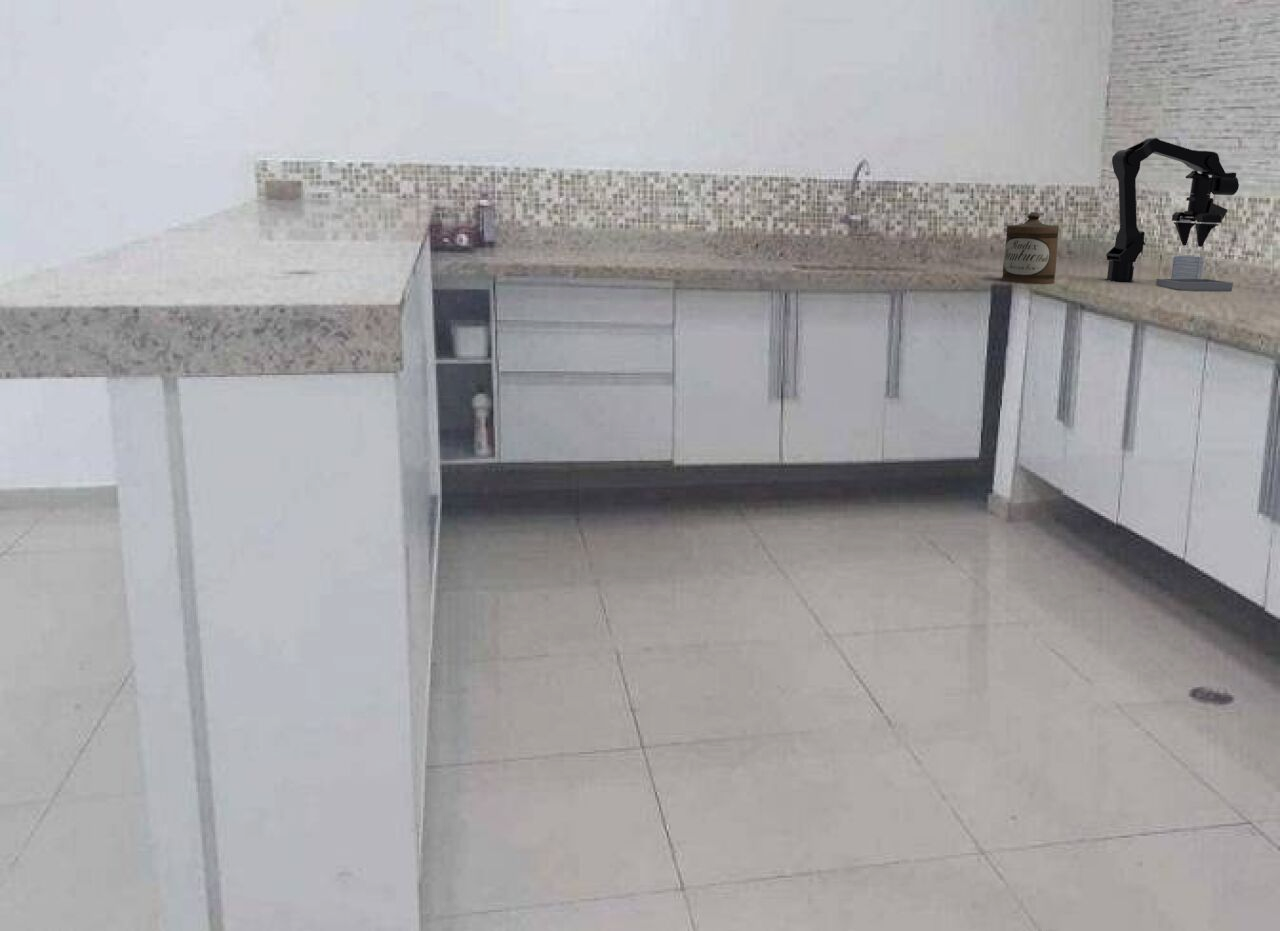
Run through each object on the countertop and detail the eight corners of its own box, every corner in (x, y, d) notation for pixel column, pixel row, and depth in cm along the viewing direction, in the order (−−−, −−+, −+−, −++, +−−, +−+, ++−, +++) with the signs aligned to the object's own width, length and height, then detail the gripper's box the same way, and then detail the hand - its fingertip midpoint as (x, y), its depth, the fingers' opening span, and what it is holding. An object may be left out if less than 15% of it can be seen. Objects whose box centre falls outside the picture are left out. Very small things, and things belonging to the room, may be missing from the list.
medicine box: (1201, 285, 338) (1204, 256, 336) (1196, 285, 335) (1200, 257, 333) (1174, 283, 343) (1177, 255, 341) (1169, 284, 340) (1173, 256, 338)
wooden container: (994, 287, 322) (1001, 211, 316) (1011, 284, 333) (1017, 211, 328) (1044, 290, 313) (1052, 212, 308) (1060, 287, 325) (1068, 212, 319)
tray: (1178, 290, 315) (1179, 282, 315) (1155, 287, 328) (1156, 278, 327) (1231, 291, 316) (1232, 282, 315) (1207, 287, 329) (1208, 279, 328)
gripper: (1243, 195, 323) (1234, 248, 327) (1208, 195, 341) (1200, 245, 345) (1207, 194, 323) (1198, 247, 327) (1174, 193, 341) (1167, 244, 345)
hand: (1192, 246), depth 336 cm, fingers open, 9 cm apart
